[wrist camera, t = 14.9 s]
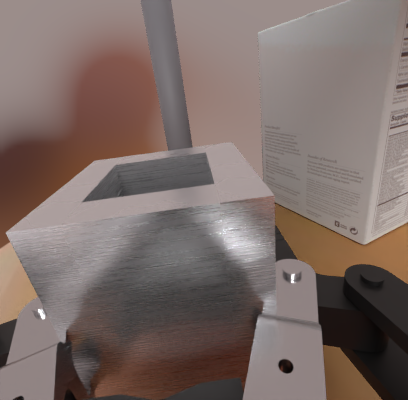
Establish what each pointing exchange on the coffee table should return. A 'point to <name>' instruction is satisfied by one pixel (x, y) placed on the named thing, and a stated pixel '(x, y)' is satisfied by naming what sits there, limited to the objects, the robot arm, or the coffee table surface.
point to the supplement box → (338, 116)
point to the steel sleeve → (155, 267)
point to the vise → (167, 71)
